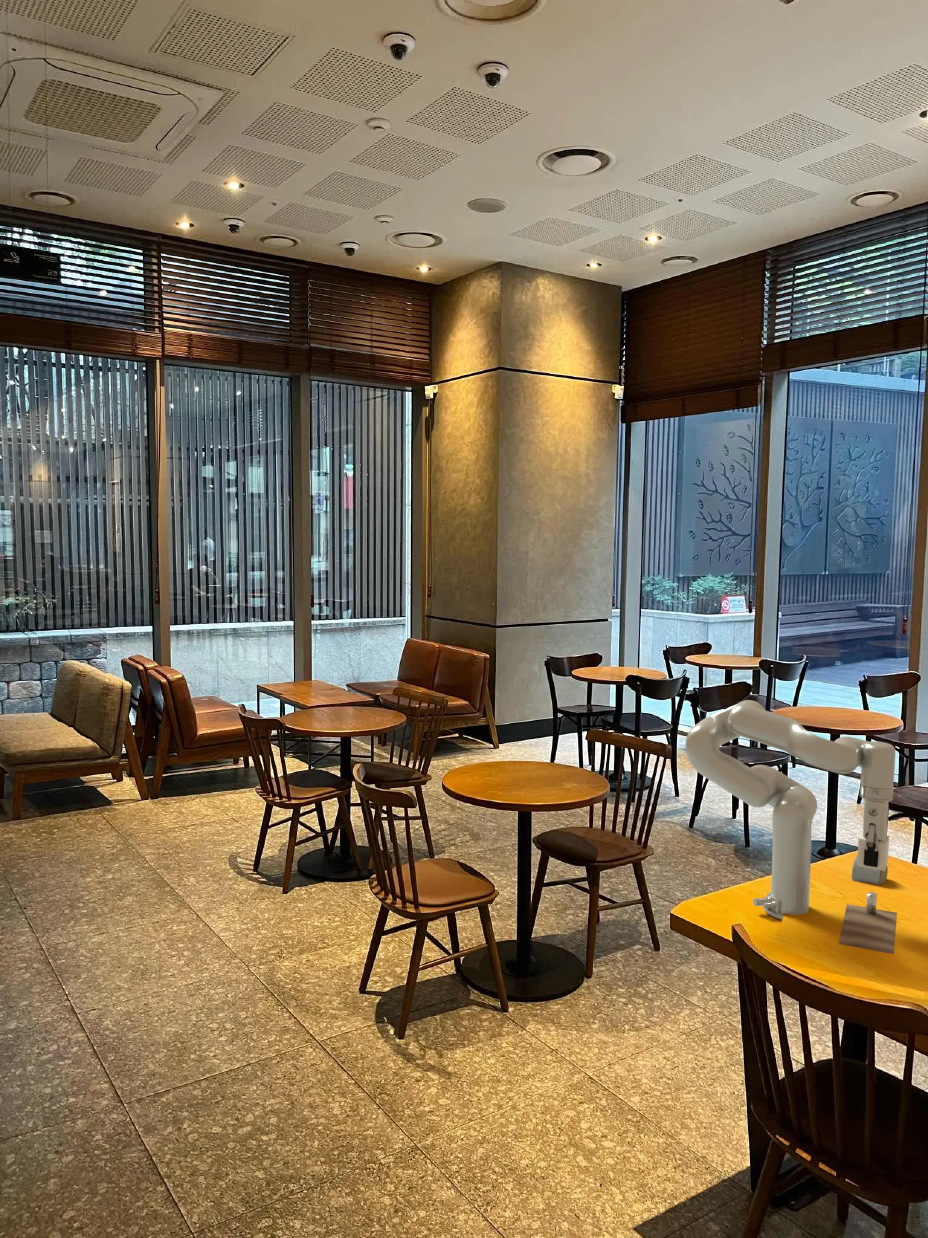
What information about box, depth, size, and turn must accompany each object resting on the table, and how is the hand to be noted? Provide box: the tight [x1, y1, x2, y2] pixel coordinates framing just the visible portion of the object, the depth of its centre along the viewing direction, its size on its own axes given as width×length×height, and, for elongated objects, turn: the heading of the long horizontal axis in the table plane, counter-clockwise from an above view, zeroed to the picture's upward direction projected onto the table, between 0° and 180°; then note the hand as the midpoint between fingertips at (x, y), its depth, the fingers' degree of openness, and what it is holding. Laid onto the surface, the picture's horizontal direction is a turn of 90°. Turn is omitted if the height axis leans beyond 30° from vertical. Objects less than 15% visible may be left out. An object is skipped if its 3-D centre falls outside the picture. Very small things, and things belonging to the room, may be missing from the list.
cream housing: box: [857, 831, 890, 871], centre depth 234 cm, size 6×6×7 cm
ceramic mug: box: [851, 854, 889, 886], centre depth 266 cm, size 11×8×8 cm
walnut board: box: [838, 904, 898, 955], centre depth 233 cm, size 26×12×2 cm, turn 154°
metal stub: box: [865, 891, 878, 915], centre depth 241 cm, size 2×2×5 cm
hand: (872, 860), depth 234 cm, fingers closed on cream housing, 6 cm apart
